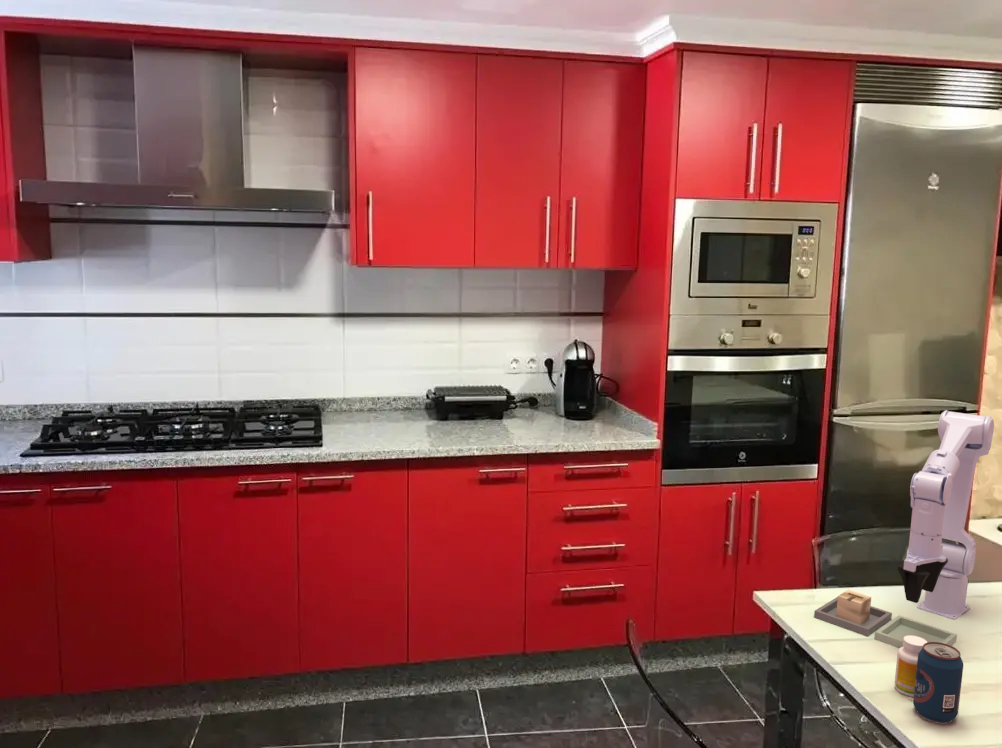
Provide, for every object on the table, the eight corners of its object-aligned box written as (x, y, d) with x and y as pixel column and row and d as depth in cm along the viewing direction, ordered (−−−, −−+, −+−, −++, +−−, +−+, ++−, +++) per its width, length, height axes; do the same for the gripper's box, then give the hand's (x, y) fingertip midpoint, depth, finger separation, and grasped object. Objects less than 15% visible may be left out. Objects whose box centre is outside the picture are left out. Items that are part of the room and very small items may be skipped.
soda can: (904, 703, 149) (910, 640, 147) (942, 702, 149) (949, 639, 147) (926, 726, 142) (933, 660, 140) (966, 725, 142) (973, 659, 140)
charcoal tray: (838, 603, 189) (839, 595, 189) (891, 620, 181) (892, 612, 180) (813, 618, 181) (814, 610, 181) (867, 637, 173) (868, 629, 173)
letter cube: (846, 611, 184) (848, 589, 184) (869, 618, 181) (871, 596, 180) (835, 618, 181) (837, 595, 180) (858, 626, 177) (860, 603, 176)
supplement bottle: (930, 699, 150) (936, 649, 148) (898, 696, 151) (903, 645, 150) (922, 684, 155) (927, 635, 154) (891, 680, 156) (895, 631, 155)
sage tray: (897, 623, 180) (898, 615, 179) (956, 642, 171) (956, 634, 171) (874, 640, 172) (875, 631, 172) (933, 661, 164) (934, 652, 163)
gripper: (933, 545, 160) (926, 612, 162) (961, 528, 170) (954, 592, 172) (895, 535, 165) (889, 600, 167) (924, 519, 175) (918, 581, 177)
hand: (919, 595), depth 170 cm, fingers open, 7 cm apart
